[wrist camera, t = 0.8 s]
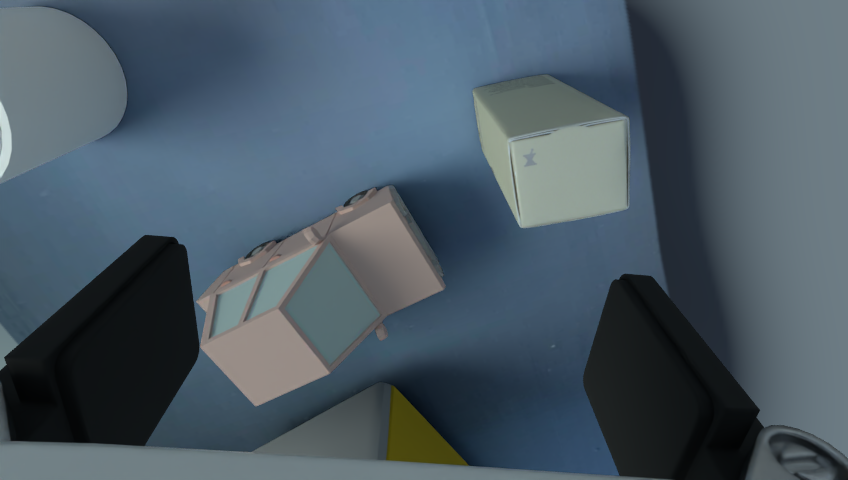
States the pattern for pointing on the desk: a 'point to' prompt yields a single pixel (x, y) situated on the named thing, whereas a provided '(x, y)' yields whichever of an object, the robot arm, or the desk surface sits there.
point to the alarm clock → (368, 432)
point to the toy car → (316, 295)
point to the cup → (53, 87)
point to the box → (553, 150)
